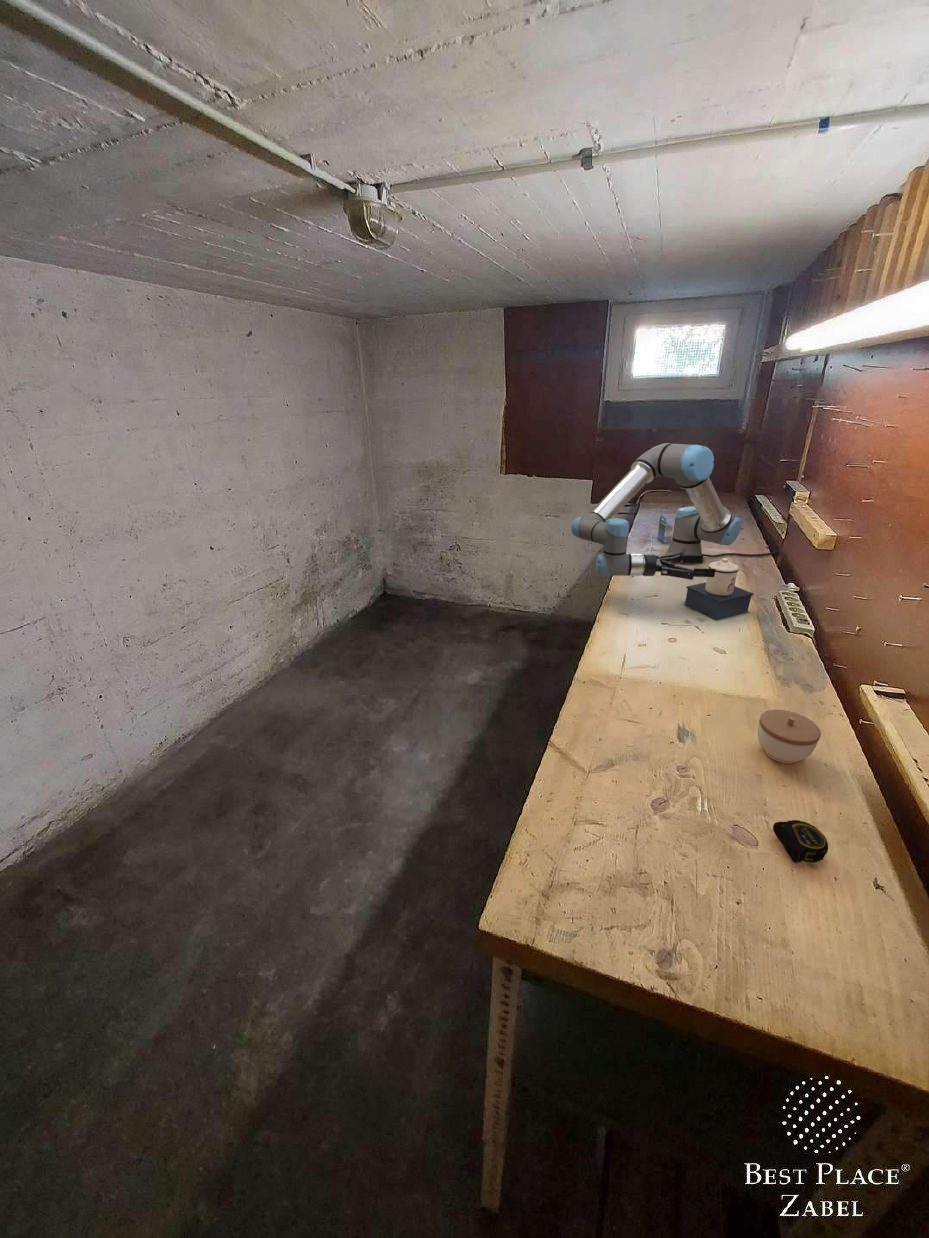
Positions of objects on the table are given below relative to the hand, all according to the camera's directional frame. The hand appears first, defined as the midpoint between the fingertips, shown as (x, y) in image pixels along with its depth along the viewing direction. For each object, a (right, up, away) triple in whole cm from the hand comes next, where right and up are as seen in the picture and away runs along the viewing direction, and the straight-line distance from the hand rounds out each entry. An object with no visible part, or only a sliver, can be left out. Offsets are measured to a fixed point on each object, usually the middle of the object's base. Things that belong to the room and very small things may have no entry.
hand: (708, 565), depth 163 cm
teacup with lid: (+5, -8, +3) cm, 10 cm away
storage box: (+6, -14, +6) cm, 16 cm away
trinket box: (-15, -47, -59) cm, 77 cm away
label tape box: (+17, +21, +78) cm, 83 cm away
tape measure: (-26, -58, -80) cm, 102 cm away
